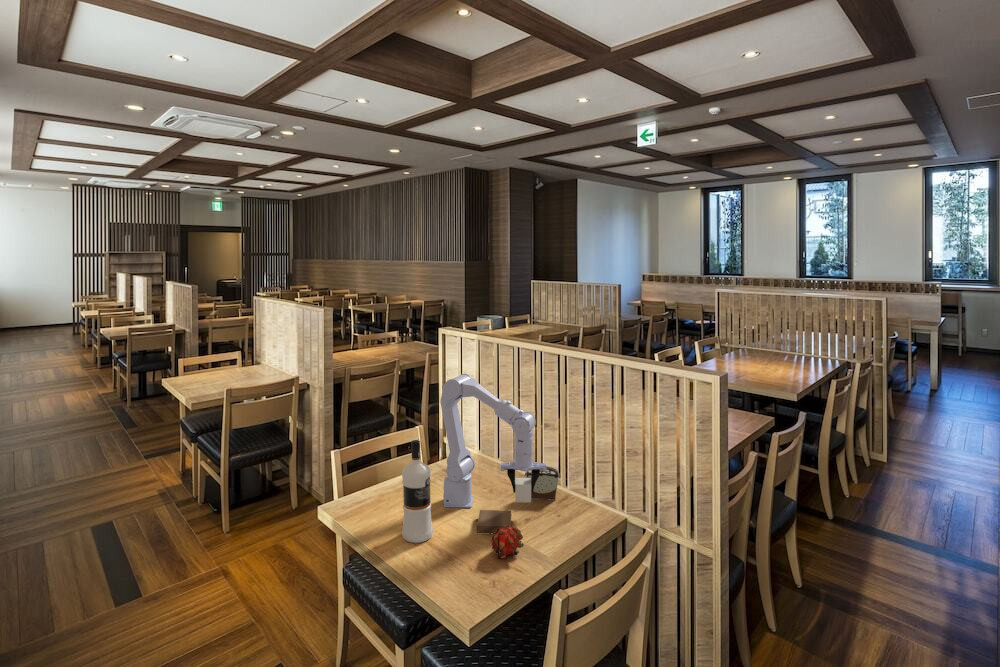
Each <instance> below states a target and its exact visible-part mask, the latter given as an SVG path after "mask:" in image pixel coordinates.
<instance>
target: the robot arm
mask: <svg viewBox="0 0 1000 667" xmlns="http://www.w3.org/2000/svg"><path fill="white" fill-rule="evenodd" d="M441 388H442V392H441V396H440V406H441V407H440V408H441V412H442V417H443V418H442V419H443V424H444V427H445V434H446V439H447V444H448V449H449V453H448V455H447V458H446V469H445V470H446V471H445V472H446V477H444V479H443V508H468V509H469V508H472V507H473V502H474V496H473V495H472V472H473V470H474V469H475V467H476V466H475V465H476V463H475V460H474V458H473V457H472V455H471V451H470V450H469V449H467V448H466V443H465V439H464V438H465V437H464V432H463V427H462V422H461V416H460V410H459V405H458V403H459V401H460V400H461V399H462V398H470V397H471V398H472V397H474V398H475V399H477V400H478V401H480V402H482V403H483V404H485V405H487V406H488V407H489V408H492V409H493V411H494V415H496V417H498V418H499V419H501V420H502V421H504V422H505V423H507V425H510V426H511V429H512V431H513V432H514V461H509V462H500V471H501V472H504V471H507V472H506V473H507V474H506V475H507V477H508V478H509V480H510V481H509V482H510V483H511V487H512V490H513V491H512V492H513V494H515V478H516V471H520V472H526V471H527V470H532V478H531V493H533V490H534V486H535V483H536V481H537V479H538V478H539V475H540V471H546V466H547V463H545V462H544V463H543V462H537V461H536V462H535V461H533V458H534V455H533V453H534V452H533V450H534V449H533V448H534V447H533V446H534V445H533V444H534V430H533V429H534V428H535V426H536V424H537V422H536V420H537V419H536V418H535V416H534V414H532V413H531V411H524V410H523V409H520V408H518V407H517V406H515V405H514V404H512V403H513V402H512V401H511V400H509V399H508V400H507V399H502V400H500V399H499V398H498V397H497V396H495V395H494V394H492V393H491V392H490V391H489V390H488V389H486V388H485V386H483V385H481V384H480V383H479V382H478V380H477V379H476V378H474V377H472V376H471V375H470V374H467V373H461V374H459V375H457V376H455V377H453V378H450V379H448V380H447V381H446V382H445V383H444V384H443V385H442V386H441Z"/></svg>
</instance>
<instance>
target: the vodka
mask: <svg viewBox="0 0 1000 667" xmlns="http://www.w3.org/2000/svg"><path fill="white" fill-rule="evenodd" d="M410 443H411V444H410V445H411V462H410V463H408V464H407V465H405V466H404V467H403V469H402V471H401V477H402V481H401V482H402V492H403V504H402V508H403V519H402V520H403V523H402V529H401V536H402V538H403V539H404V540H405V541H406V542H409V543H412V544H419V543H424V542H426V541H428V540H429V539H431V537H432V536H433V535H434V526H433V523H432V512H431V510H432V503H431V472H432V471H431V468H430V467H429V465H428V464H426V463H425V462H422V461H421V441H420V440H418V439H415V440H412V441H411V442H410Z"/></svg>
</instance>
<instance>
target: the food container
mask: <svg viewBox="0 0 1000 667" xmlns="http://www.w3.org/2000/svg"><path fill="white" fill-rule="evenodd" d="M524 472H525V473H524V477H523V478H532V470H527V471H524ZM559 479H561V476H560V473H559V471H558V469H556V468H554V467H552V466H548V465H546V471H540V475H539V478H538V479H537V481H536V483H535V486H534V490H533V493H531V500H538V499H552V500H551V501H556V497H557V491H558V485H559V484H558V483H559Z"/></svg>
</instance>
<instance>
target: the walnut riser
mask: <svg viewBox="0 0 1000 667" xmlns="http://www.w3.org/2000/svg"><path fill="white" fill-rule="evenodd" d="M511 523H512V510H498V509H497V510H495V509H479V512H478V519H477V525H476V533H489V534H488V535H494V534H495V532H496V530H497V529H499V528H500V529H503V528H504V526H505V525H506V526H509V527H510V526H512V525H511ZM491 533H493V534H491Z"/></svg>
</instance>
